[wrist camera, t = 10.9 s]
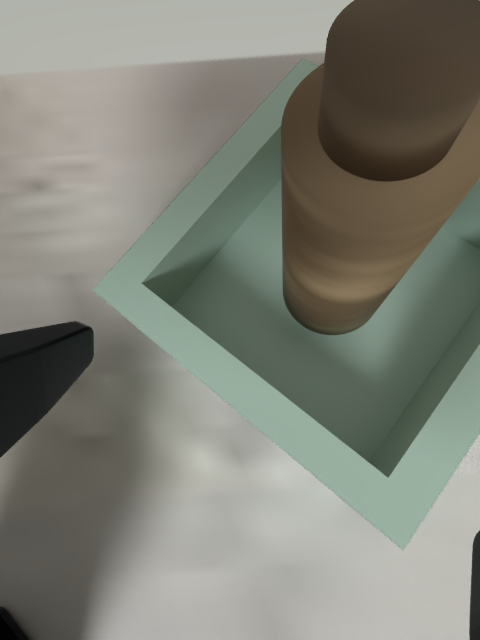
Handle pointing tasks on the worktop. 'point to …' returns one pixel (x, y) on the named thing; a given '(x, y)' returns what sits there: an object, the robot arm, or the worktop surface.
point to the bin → (314, 333)
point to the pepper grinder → (376, 154)
